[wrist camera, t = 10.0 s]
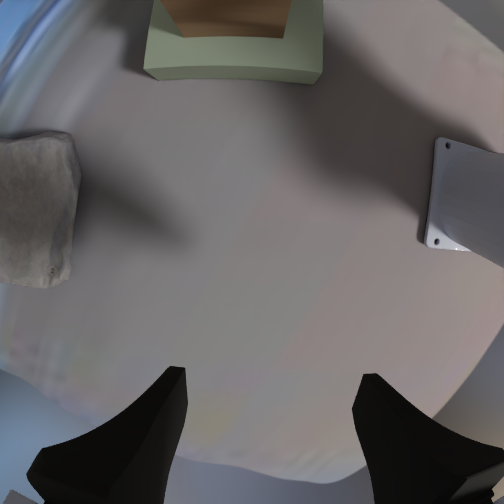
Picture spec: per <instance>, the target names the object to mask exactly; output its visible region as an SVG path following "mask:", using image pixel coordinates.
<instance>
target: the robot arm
mask: <svg viewBox="0 0 504 504" xmlns="http://www.w3.org/2000/svg"><path fill="white" fill-rule="evenodd" d="M446 143H447V144H448V148H446ZM435 239H437V242H436V243H435V244H434V241H435ZM424 244H425V245H426V246H427V247H429V248H436V249H448V250H459V251H470V252H475V253H477V254H479V255H480V256H482V257H484V258H486V259H488V260H490V261H492V262H493V263H495V264H497V265H499V266H501V267H502V268H504V154H502V153H492V152H489V151H486V150H483V149H480V148H477V147H474V146H471V145H467V144H464V143H461V142H457V141H454V140H450V139H447V138H443V137H439V138H437V139H436V140H435V150H434V164H433V176H432V186H431V195H430V203H429V210H428V217H427V224H426V230H425V236H424ZM187 406H188V398H187V386H186V372H185V368H183V367H175V366H170V367H168V368H167V369H166V370H165V372H164V373H163V374H162V375H161V376H160V377H159V378H158V379H157V380H156V381H155V382H154V383H153V384H152V385H151V386H150V387H149V388H148V389H147V390H146V391H145V392H144V393H143V394H142V395H141V396H140V397H139V398H138V399H137V400H135V401H134V402H133V403H132V404H131V405H130V406H128V407H127V408H126V409H125V410H123V411H122V412H121V413H119V414H118V415H117V416H115V417H114V418H112V419H111V420H109V421H108V422H106V423H104V424H103V425H101V426H99V427H97V428H96V429H94V430H92V431H90V432H88V433H86V434H84V435H81V436H79V437H77V438H74V439H71V440H69V441H66V442H63V443H60V444H56V445H53V446H49V447H46V448H42V449H41V451H40V452H39V453H38V455H37V456H36V458H35V460H34V461H33V463H32V465H31V467H30V468H29V470H28V472H27V474H26V475H27V478H28V481H29V482H30V484H31V485H32V486H33V488H34V489H35V490H36V491H37V492H38V493H39V495H40V496H41V497H42V498H43V499H44V501H45V502H44V504H163V503H164V497H165V491H166V485H167V480H168V474H169V471H170V467H171V464H172V461H173V458H174V455H175V451H176V448H177V445H178V442H179V439H180V436H181V433H182V430H183V427H184V423H185V418H186V412H187ZM352 412H353V419H354V424H355V429H356V432H357V435H358V438H359V441H360V444H361V447H362V450H363V453H364V456H365V459H366V463H367V466H368V469H369V473H370V476H371V482H372V487H373V493H374V501H375V504H504V496H503V497H501V498H499V499H498V500H497V501H495V502H494V503H493V502H492V500H491V498H492V497H493V496H494V492H493V490H492V488H493V487H494V486H495V485H496V484H497V483H498V482H499V481H500V480H501V478H502V477H503V476H504V450H503V449H502V448H499V447H494V446H491V445H487V444H483V443H480V442H477V441H474V440H471V439H469V438H466V437H464V436H461V435H460V434H457V433H455V432H453V431H451V430H449V429H448V428H446V427H444V426H442V425H441V424H439V423H437V422H435V421H434V420H433V419H431V418H430V417H428V416H427V415H425V414H424V413H423V412H421V411H420V410H419V409H417V408H416V407H415V406H414V405H412V404H411V403H410V402H409V401H408V400H406V399H405V398H404V397H403V396H402V395H401V394H399V393H398V392H397V391H396V390H395V389H394V388H393V387H392V386H391V385H390V384H388V383H387V382H386V381H385V380H384V379H383V378H382V377H381V376H379V375H378V374H377V373H373V374H363V377H362V380H361V383H360V386H359V389H358V392H357V395H356V398H355V401H354V404H353V407H352ZM3 504H38V503H36V502H34V501H33V500H31V499H29V498H27V497H25V496H23V495H21V494H19V493H18V492H16V491H14V490H10V492H9V494H8V495H7V497H6V499H5V501H4V502H3Z"/></svg>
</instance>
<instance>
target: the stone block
mask: <svg viewBox="0 0 504 504" xmlns="http://www.w3.org/2000/svg"><path fill="white" fill-rule="evenodd" d="M81 180H82V171H81V169H80V165H79V161H78V156H77V152H76V148H75V144H74V140H73V138H72V136H71V135H70V134H67V133H58V132H55V131H46V132H44V133H42V134H40V135H34V136H31V137H28V138H22V139H3V138H0V282H1V283H3V282H4V283H13V284H17V285H23V286H26V287H37V288H51V287H54V286H56V285H59V284H60V283H61V282H62V281H67V280H69V278H70V273H71V269H72V265H71V259H72V240H73V237H74V230H75V228H74V222H75V219H76V208H77V203H78V196H79V188H80V183H81Z"/></svg>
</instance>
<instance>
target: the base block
mask: <svg viewBox="0 0 504 504" xmlns="http://www.w3.org/2000/svg"><path fill="white" fill-rule="evenodd" d="M143 69H144V70H145V71H146V72H148V73H149V74H150V75H152V76H153V77H154V78H156V79H157V80H158V81H160V80H178V79H248V80H267V81H280V82H291V83H301V84H310V85H314V83H315V82H316V81H317V79H318V78H319V77H320V75H321V74H322V73H323V0H291V5H290V9H289V14H288V18H287V23H286V28H285V32H284V37H283V39H280V38H265V37H237V36H218V37H190V38H184V37H183V35H182V33H181V32H180V30H179V29H178V27H177V26H176V24H175V22H174V21H173V19H172V18H171V16H170V15H169V13H168V12H167V10H166V9H165V7H164V6H163V4H162V3H161V1H160V0H154V3H153V8H152V14H151V19H150V25H149V31H148V38H147V45H146V52H145V59H144V67H143Z"/></svg>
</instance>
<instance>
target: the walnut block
mask: <svg viewBox="0 0 504 504" xmlns="http://www.w3.org/2000/svg"><path fill="white" fill-rule="evenodd" d="M160 1H161V3H162V4H163V6H164V7H165V9H166V10H167V12H168V13H169V15H170V16H171V18H172V19H173V21H174V22H175V24H176V26H177V27H178V29H179V30H180V32H181V33H182V35H183V37H184V38H190V37H218V36H237V37H265V38H280V39H283V37H284V32H285V28H286V23H287V18H288V14H289V9H290V5H291V0H160Z"/></svg>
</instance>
